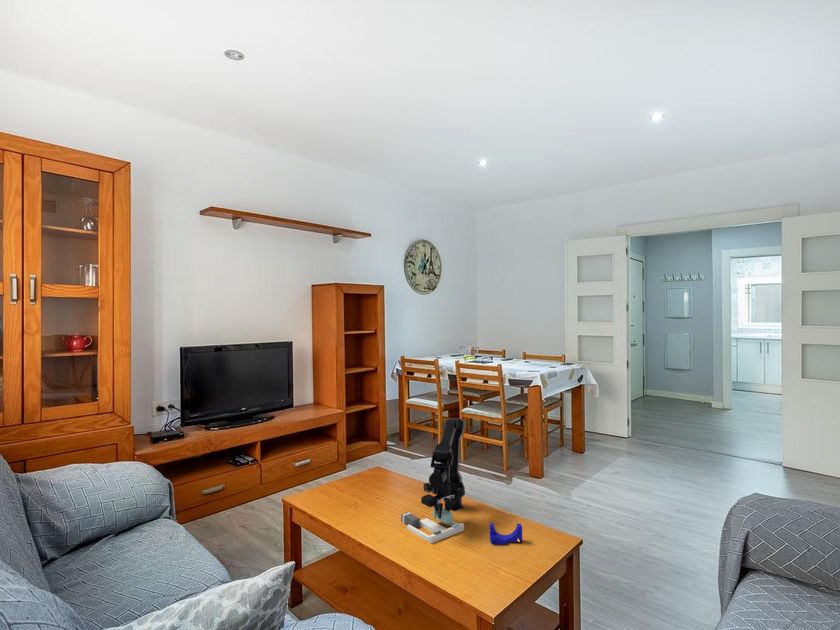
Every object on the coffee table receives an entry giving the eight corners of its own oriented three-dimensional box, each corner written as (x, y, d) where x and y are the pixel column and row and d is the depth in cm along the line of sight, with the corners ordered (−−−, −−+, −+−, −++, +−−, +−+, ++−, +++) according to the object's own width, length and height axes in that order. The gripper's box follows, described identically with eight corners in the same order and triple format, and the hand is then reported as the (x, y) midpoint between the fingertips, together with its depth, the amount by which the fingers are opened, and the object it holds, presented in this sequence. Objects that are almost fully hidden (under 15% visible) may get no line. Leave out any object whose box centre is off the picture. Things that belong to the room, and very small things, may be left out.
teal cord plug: (439, 515, 198) (439, 506, 198) (452, 521, 192) (452, 512, 192) (433, 517, 196) (433, 508, 196) (445, 524, 189) (445, 515, 189)
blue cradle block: (491, 544, 178) (491, 528, 178) (489, 538, 183) (489, 523, 183) (523, 544, 178) (522, 528, 178) (520, 539, 182) (520, 523, 182)
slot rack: (439, 517, 201) (439, 510, 201) (464, 530, 189) (464, 522, 189) (406, 529, 191) (406, 521, 191) (431, 543, 179) (431, 535, 179)
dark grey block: (408, 520, 199) (408, 511, 199) (419, 526, 193) (419, 518, 193) (401, 522, 197) (401, 513, 197) (412, 529, 191) (412, 520, 191)
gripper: (446, 469, 206) (446, 505, 206) (412, 478, 194) (412, 516, 194) (464, 476, 197) (464, 513, 197) (429, 486, 185) (430, 526, 185)
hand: (442, 517), depth 194 cm, fingers closed on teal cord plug, 3 cm apart
